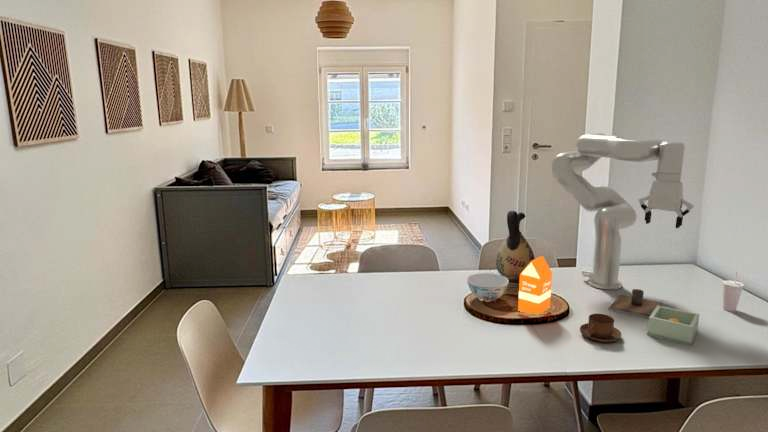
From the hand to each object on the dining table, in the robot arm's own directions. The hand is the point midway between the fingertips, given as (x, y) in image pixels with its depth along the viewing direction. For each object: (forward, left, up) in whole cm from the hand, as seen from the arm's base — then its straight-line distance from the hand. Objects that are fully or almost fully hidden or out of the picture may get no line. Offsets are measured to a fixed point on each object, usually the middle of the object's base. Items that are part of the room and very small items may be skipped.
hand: (662, 225), depth 184 cm
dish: (+11, -26, -29) cm, 40 cm away
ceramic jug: (-49, -12, -29) cm, 58 cm away
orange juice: (-30, -37, -29) cm, 56 cm away
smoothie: (+23, +7, -29) cm, 37 cm away
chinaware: (-49, -35, -29) cm, 67 cm away
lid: (-4, -11, -28) cm, 30 cm away
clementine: (+11, -26, -26) cm, 38 cm away
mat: (-3, -11, -29) cm, 31 cm away
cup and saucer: (-7, -42, -29) cm, 51 cm away
